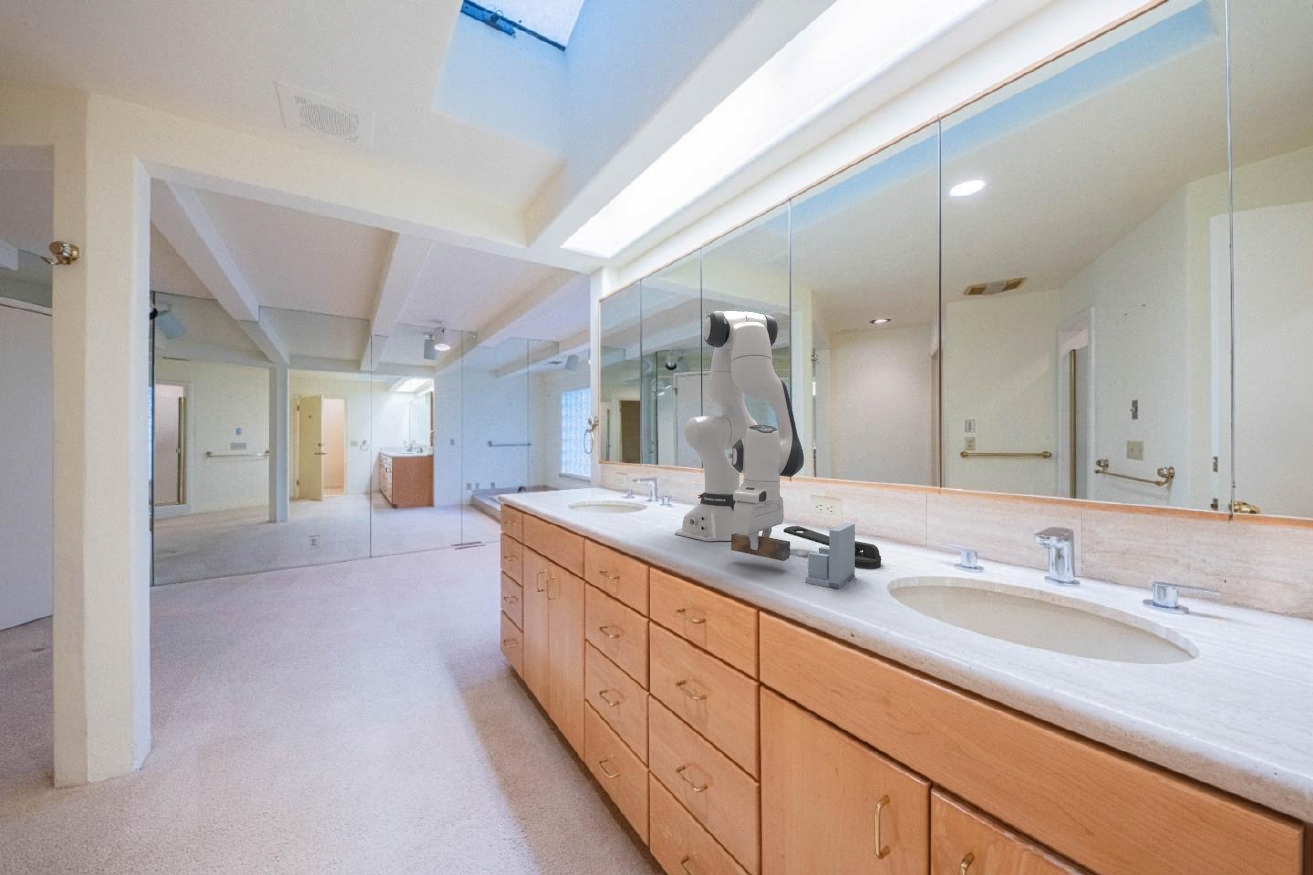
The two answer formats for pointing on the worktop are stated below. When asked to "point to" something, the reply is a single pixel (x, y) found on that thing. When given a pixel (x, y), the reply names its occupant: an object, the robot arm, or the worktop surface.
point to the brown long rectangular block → (762, 547)
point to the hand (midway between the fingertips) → (759, 547)
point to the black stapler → (862, 559)
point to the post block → (834, 559)
